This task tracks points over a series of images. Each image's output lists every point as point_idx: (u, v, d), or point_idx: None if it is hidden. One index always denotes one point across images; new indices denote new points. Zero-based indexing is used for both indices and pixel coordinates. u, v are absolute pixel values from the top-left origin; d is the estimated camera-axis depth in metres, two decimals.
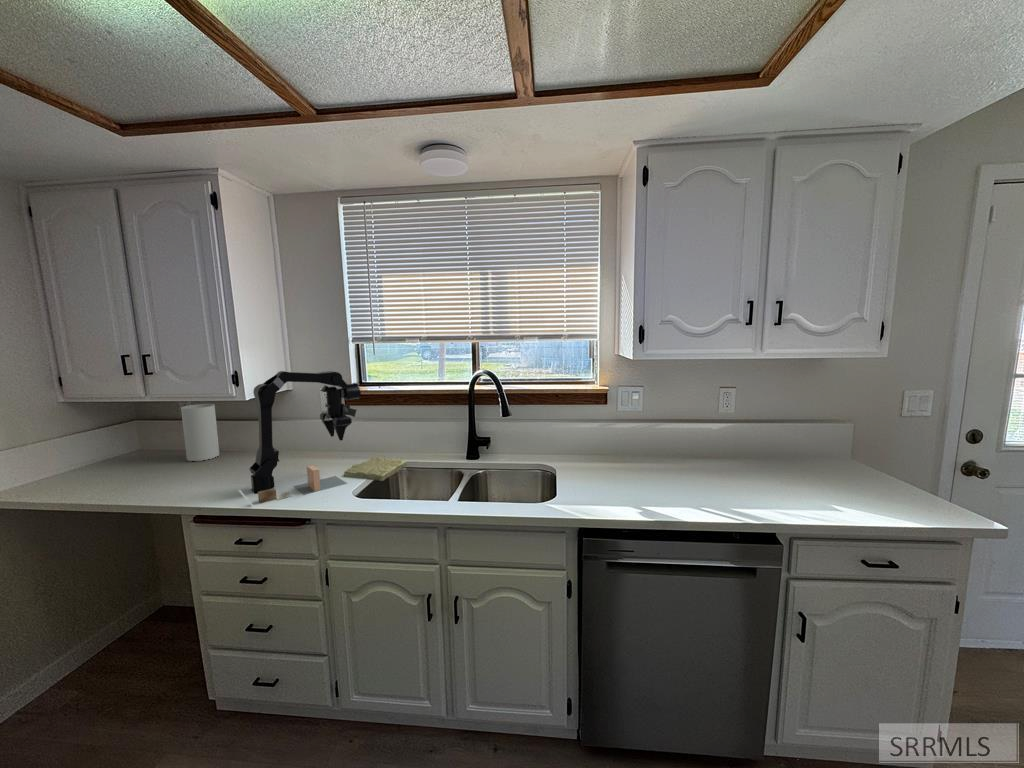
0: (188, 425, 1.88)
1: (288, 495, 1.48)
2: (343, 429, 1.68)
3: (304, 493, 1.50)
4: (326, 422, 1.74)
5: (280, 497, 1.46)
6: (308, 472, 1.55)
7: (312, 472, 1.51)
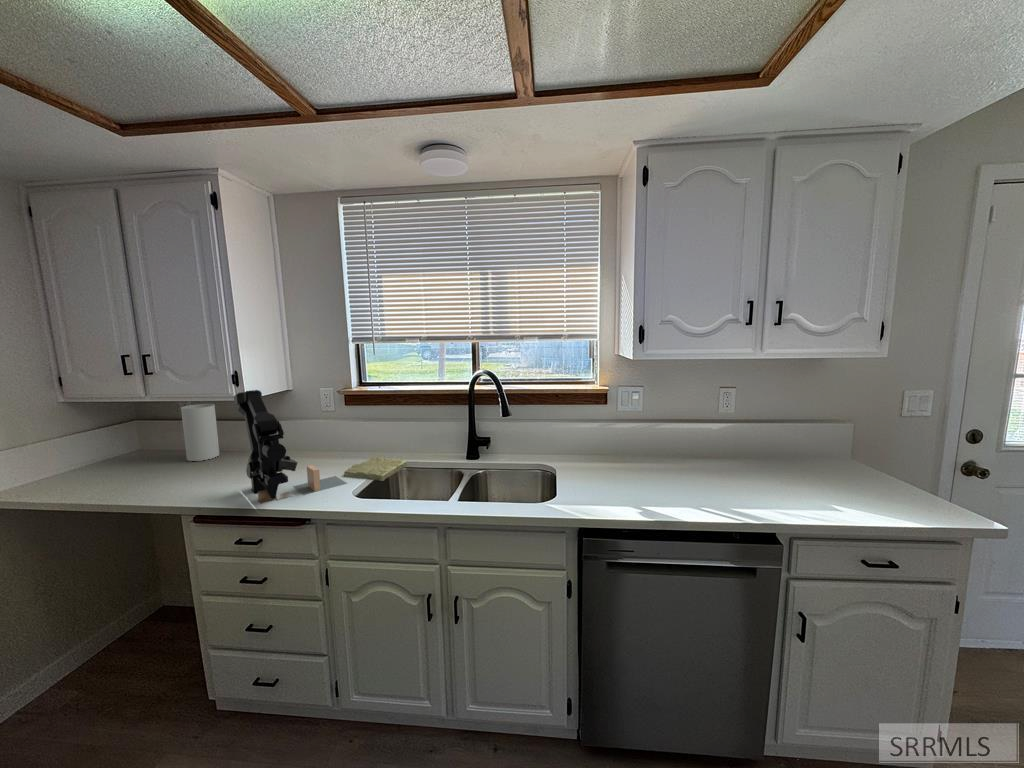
0: (188, 425, 1.88)
1: (288, 495, 1.48)
2: (275, 486, 1.43)
3: (304, 493, 1.50)
4: (263, 480, 1.44)
5: (280, 497, 1.46)
6: (308, 472, 1.55)
7: (312, 472, 1.51)
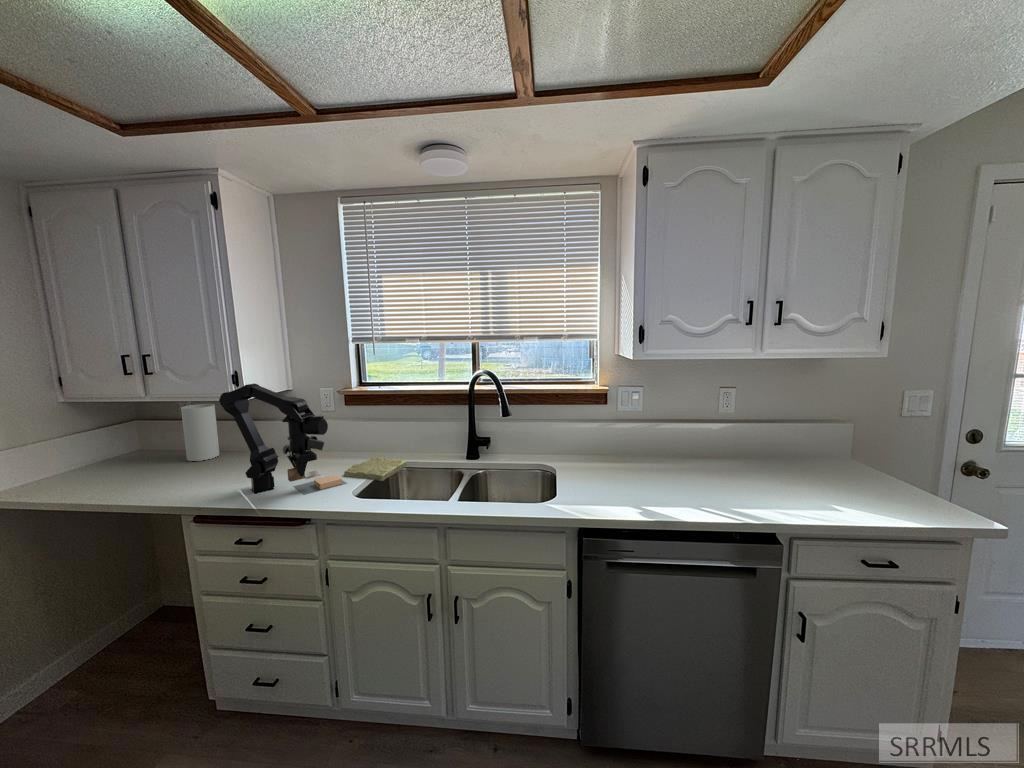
0: (188, 425, 1.88)
1: (315, 473, 1.54)
2: (304, 464, 1.49)
3: (304, 493, 1.50)
4: (292, 458, 1.50)
5: (308, 475, 1.52)
6: (331, 476, 1.61)
7: (338, 479, 1.58)
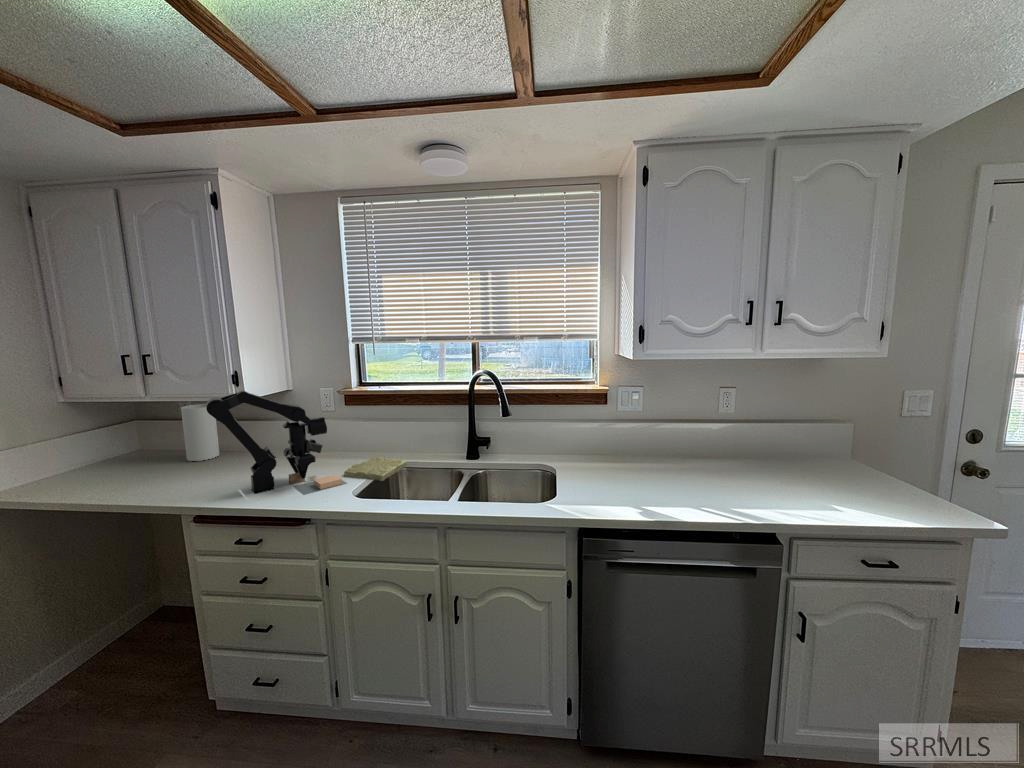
0: (188, 425, 1.88)
1: (315, 478, 1.65)
2: (305, 467, 1.59)
3: (304, 493, 1.50)
4: (291, 459, 1.63)
5: (308, 480, 1.63)
6: (331, 476, 1.61)
7: (338, 479, 1.58)
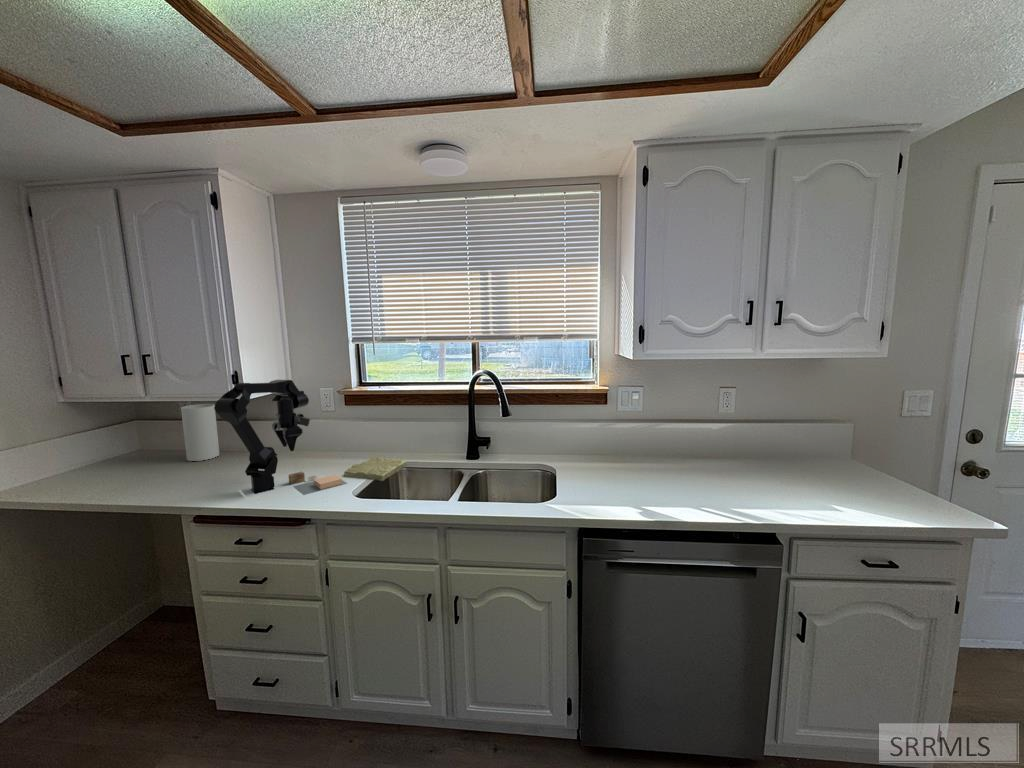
0: (188, 425, 1.88)
1: (315, 478, 1.65)
2: (294, 439, 1.63)
3: (304, 493, 1.50)
4: (278, 432, 1.68)
5: (308, 480, 1.63)
6: (331, 476, 1.61)
7: (338, 479, 1.58)
